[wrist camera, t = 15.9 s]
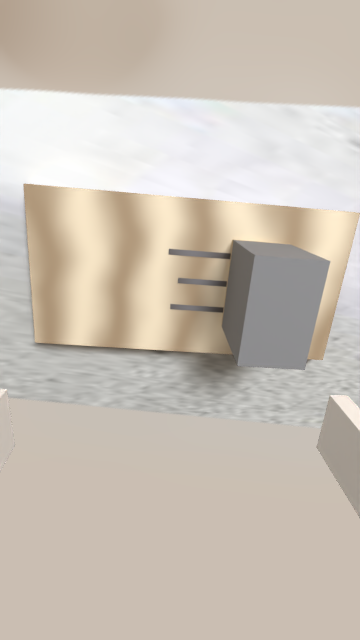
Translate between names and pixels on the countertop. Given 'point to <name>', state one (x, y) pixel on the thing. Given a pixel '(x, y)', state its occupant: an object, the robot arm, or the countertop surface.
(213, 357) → the countertop surface
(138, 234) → the board
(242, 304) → the block
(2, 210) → the countertop surface
